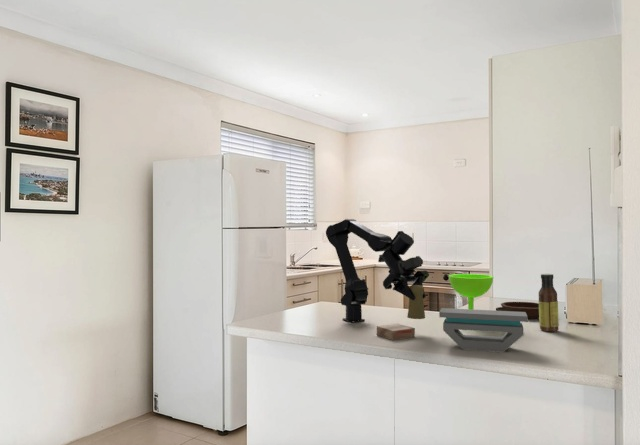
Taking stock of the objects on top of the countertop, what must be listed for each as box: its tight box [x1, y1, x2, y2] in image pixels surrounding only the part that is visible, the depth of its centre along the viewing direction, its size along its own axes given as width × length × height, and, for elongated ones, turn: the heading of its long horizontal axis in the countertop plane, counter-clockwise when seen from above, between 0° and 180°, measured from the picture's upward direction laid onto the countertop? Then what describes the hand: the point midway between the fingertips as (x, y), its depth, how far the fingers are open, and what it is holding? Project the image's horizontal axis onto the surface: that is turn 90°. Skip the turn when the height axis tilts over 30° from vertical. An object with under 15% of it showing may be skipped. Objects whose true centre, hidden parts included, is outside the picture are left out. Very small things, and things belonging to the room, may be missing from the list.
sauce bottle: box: [538, 273, 560, 333], centre depth 184 cm, size 7×6×20 cm
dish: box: [495, 301, 539, 320], centre depth 212 cm, size 18×22×5 cm
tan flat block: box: [376, 323, 416, 341], centre depth 175 cm, size 9×9×3 cm
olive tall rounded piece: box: [406, 284, 426, 320], centre depth 179 cm, size 6×6×11 cm
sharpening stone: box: [439, 307, 529, 353], centre depth 159 cm, size 25×8×11 cm, turn 73°
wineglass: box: [448, 273, 494, 310], centre depth 195 cm, size 16×16×18 cm
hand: (419, 298), depth 178 cm, fingers closed on olive tall rounded piece, 5 cm apart
